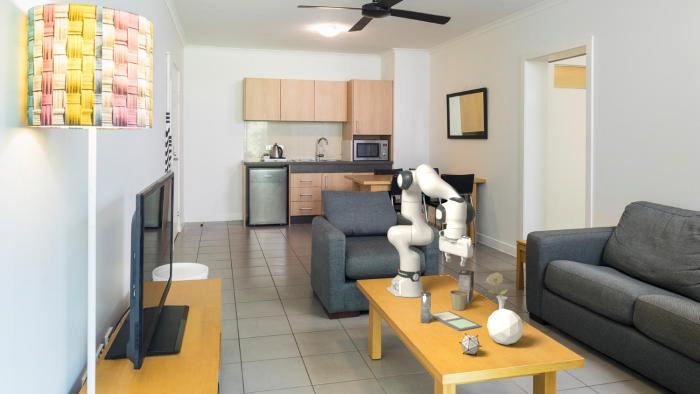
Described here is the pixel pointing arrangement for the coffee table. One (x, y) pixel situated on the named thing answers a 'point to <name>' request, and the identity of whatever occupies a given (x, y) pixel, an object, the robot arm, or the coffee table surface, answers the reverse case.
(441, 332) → the coffee table surface
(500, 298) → the flower in vase
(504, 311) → the geometric sphere
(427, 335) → the coffee table surface
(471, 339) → the game die
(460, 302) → the flower pot
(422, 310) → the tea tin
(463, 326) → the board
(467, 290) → the coffee box
